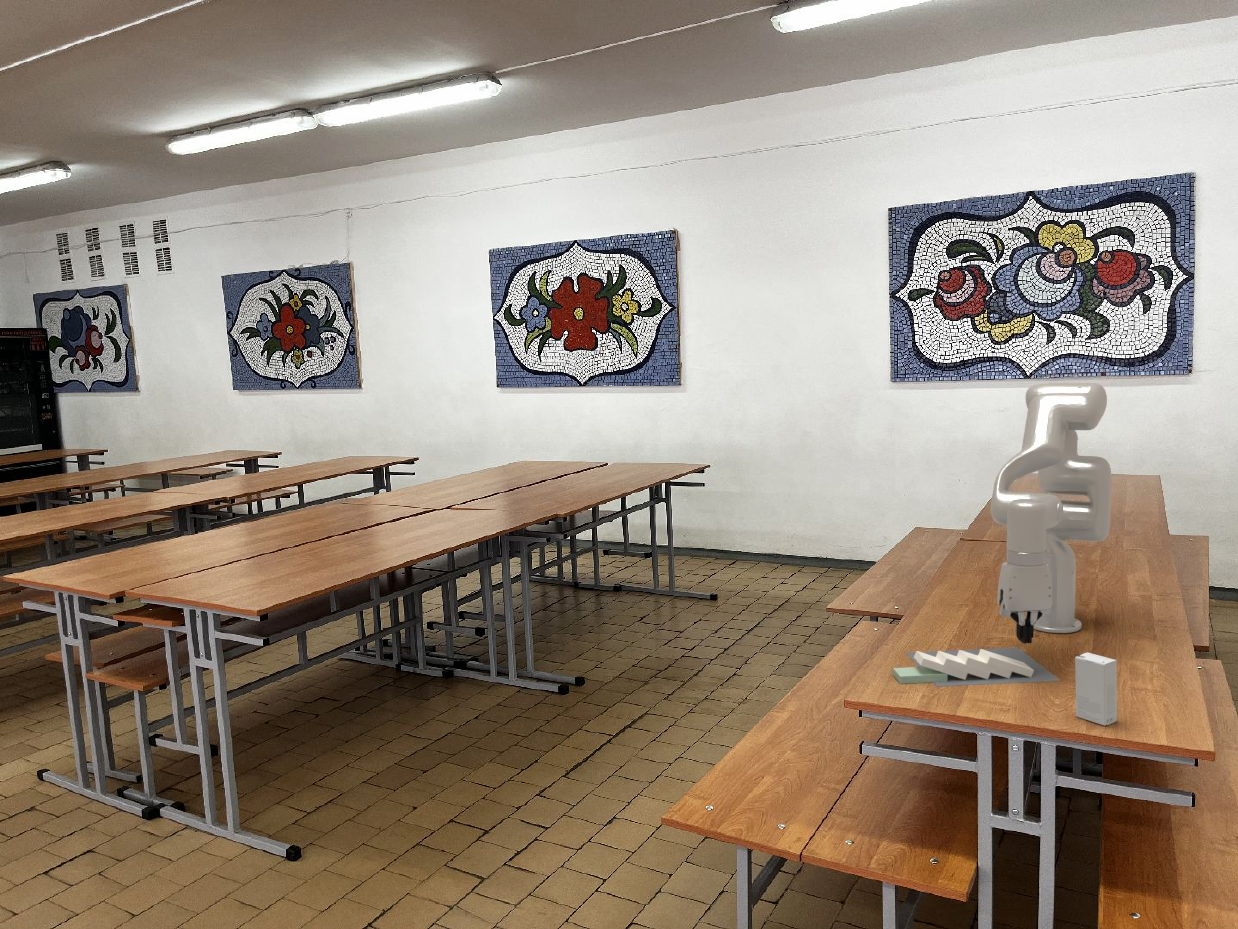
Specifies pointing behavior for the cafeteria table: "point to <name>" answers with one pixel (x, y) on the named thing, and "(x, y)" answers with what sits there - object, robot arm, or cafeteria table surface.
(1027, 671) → the domino
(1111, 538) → the cafeteria table surface
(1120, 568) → the cafeteria table surface
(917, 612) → the cafeteria table surface
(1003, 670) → the domino
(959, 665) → the domino
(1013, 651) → the slate mat
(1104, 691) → the skincare box
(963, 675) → the domino
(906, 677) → the domino end
